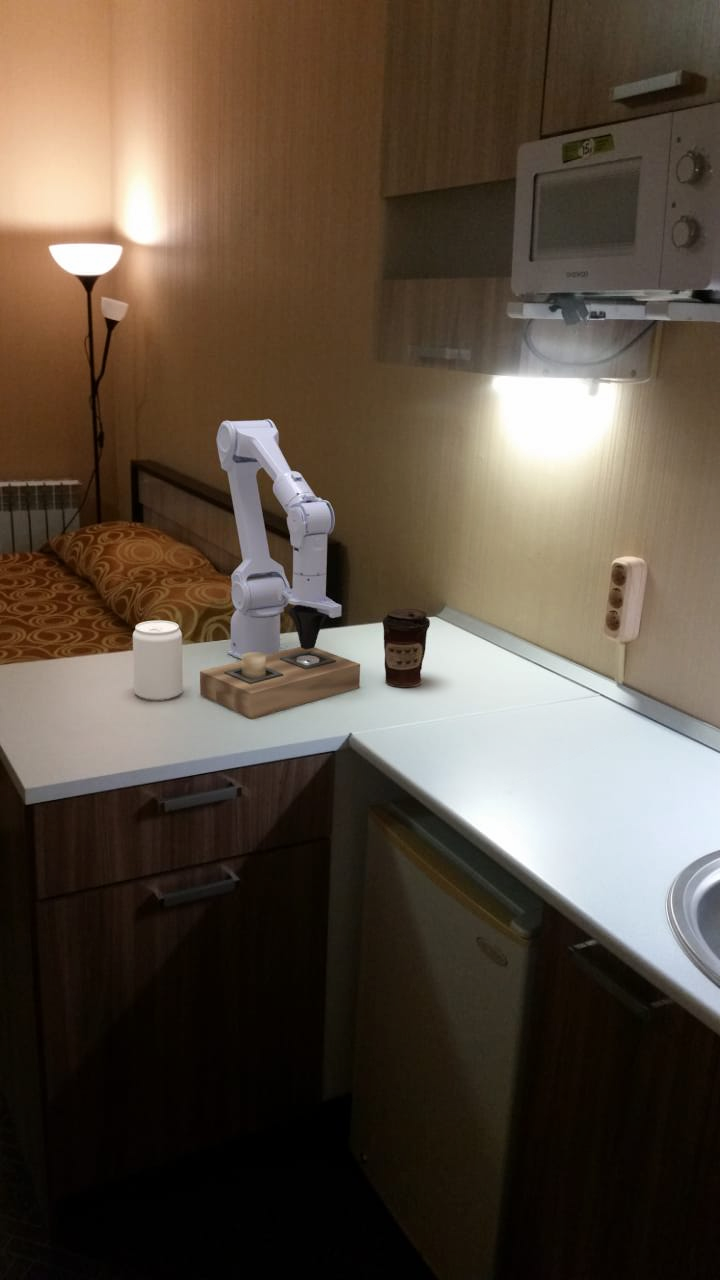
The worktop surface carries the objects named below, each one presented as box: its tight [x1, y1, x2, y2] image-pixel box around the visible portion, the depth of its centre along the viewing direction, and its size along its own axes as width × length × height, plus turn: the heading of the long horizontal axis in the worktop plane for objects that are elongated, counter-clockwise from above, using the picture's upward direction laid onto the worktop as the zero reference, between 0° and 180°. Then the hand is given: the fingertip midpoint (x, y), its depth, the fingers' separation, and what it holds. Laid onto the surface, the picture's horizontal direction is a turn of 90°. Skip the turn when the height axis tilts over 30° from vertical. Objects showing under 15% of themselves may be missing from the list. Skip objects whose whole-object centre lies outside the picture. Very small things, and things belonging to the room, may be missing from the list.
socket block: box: [199, 646, 361, 720], centre depth 187 cm, size 14×24×5 cm, turn 134°
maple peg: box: [241, 652, 266, 680], centre depth 182 cm, size 4×4×4 cm
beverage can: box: [132, 620, 184, 701], centre depth 183 cm, size 8×8×12 cm
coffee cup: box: [382, 608, 431, 688], centre depth 192 cm, size 9×8×13 cm
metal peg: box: [297, 656, 319, 665], centre depth 191 cm, size 4×4×4 cm
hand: (307, 647), depth 190 cm, fingers closed
